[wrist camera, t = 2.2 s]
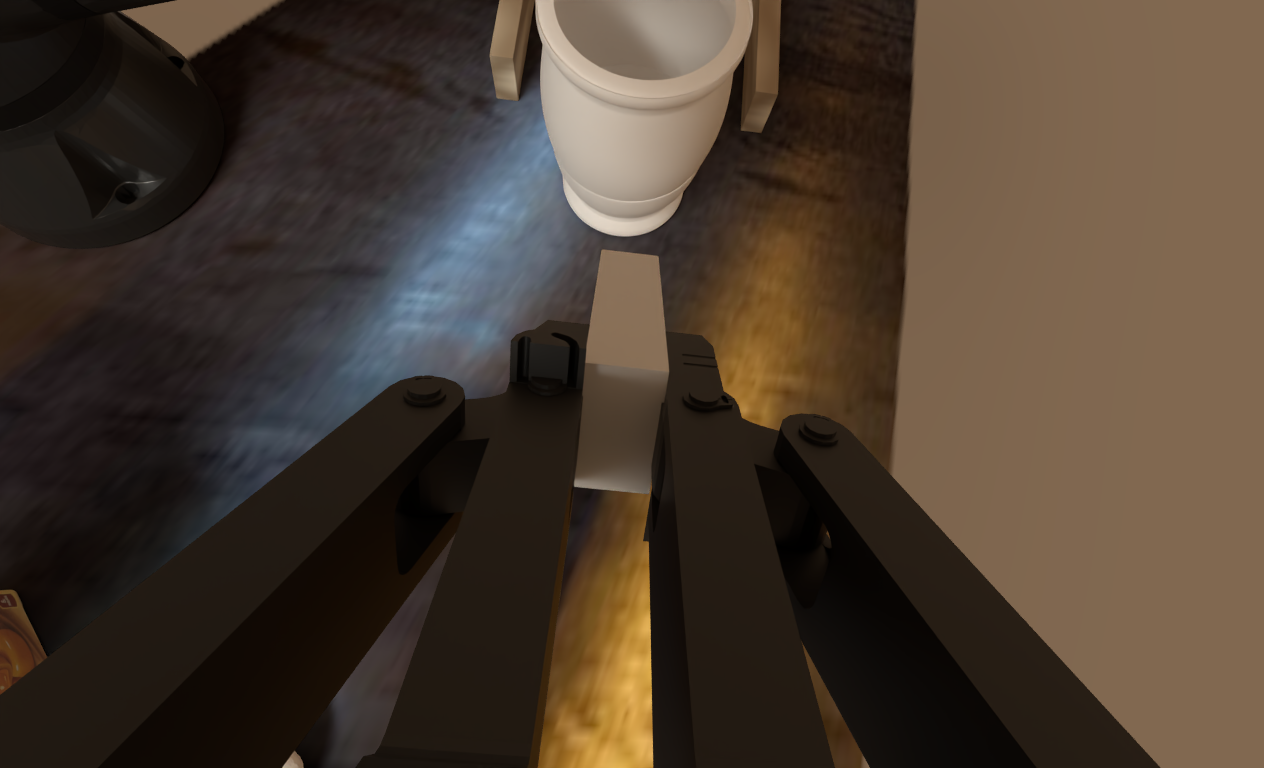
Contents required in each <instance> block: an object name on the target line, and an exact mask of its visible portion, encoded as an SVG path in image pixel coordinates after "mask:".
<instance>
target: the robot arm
mask: <svg viewBox="0 0 1264 768" xmlns="http://www.w3.org/2000/svg"><path fill="white" fill-rule="evenodd" d="M169 1H175V0H0V224H2V225H3V226H5V227H7V228H8V229H10V230H12V231H14V232H15V233H17V234H19V235H21V236H23V237H25V238H27V239H30V240H33V241H35V242H39V243H42V244H46V245H50V246H55V247H62V248H80V249H83V248H97V247H105V246H111V245H115V244H120V243H123V242H127V241H130V240H133V239H136V238H139V237H141V236H144V235H146V234H148V233H150V232H152V231H154V230H156V229H158V228H160V227H162V226H163V225H165V224H167V223H168V222H170V221H171V220H173V219H174V218H176V217H177V216H178V215H180V214H181V213H182V212H183V211H184V210H186V209H187V208H188V207H189V206H190V205H191V204H192V203H193V202H194V201H195V200H196V199H197V198H198V196H199V195H200V194H201V193H202V192H203V190H204V189H205V188H206V186H207V185H208V183H209V182H210V180H211V178H212V177H213V175H214V173H215V171H216V168H217V166H218V164H219V161H220V158H221V154H222V150H223V144H224V122H223V117H222V113H221V109H220V106H219V104H218V102H217V99H216V98H215V96H214V94H213V92H212V91H211V89H210V88H209V87H208V85H207V84H206V83H205V81H204V80H203V79H202V78H201V76H200V75H199V74H198V73H197V71H196V70H195V69H194V67H193V66H192V65H191V64H190V62H189V61H188V60H187V59H186V58H185V57H184V56H182V54H180V53H179V52H178V51H177V50H176V49H175V48H174V47H172V46H171V45H170V44H168V43H167V42H165V41H164V40H162V39H161V38H159V37H158V36H156V35H155V34H154V33H152V32H151V31H149V30H148V29H146V28H145V27H143V26H142V25H140V24H139V23H137V22H136V21H134V20H133V19H131V18H130V17H128V16H126V15H125V14H124V13H122V12H121V11H122V10H127V9H133V8H138V7H143V6H148V5H154V4H159V3H164V2H169ZM717 367H718V366H717V362H716V359H715V353H714V349H713V346H712V345H711V344H710V343H709V342H708V341H707V340H706V339H705V338H704V337H703V336H701V335H692V334H683V333H674V332H666V331H665V322H664V312H663V301H662V291H661V280H660V270H659V259H658V256H653V255H644V254H636V253H627V252H619V251H610V250H602V252H601V258H600V264H599V271H598V277H597V283H596V289H595V296H594V302H593V308H592V315H591V321H590V325H588V324H579V323H570V322H561V321H552V320H548V321H546V322H545V323H543V324H542V325H540V326H539V327H537V328H536V329H535V330H528V331H524V332H522V333H519V334H517V335H516V336H515V337H514V338H513V339H512V340H511V354H510V382H509V385H508V388H507V391H506V392H505V393H503V394H500V395H497V396H493V397H488V398H480V399H467V400H465V394H464V390H463V388H462V387H461V386H460V385H458V384H457V383H456V382H454V381H451V380H448V379H446V378H441V377H434V376H415V377H412V378H408V379H404V380H400V381H398V382H397V383H395V384H393V385H391V386H389V387H388V388H387V389H386V390H384V391H383V392H382V393H380V394H379V395H378V396H377V397H375V398H374V399H373V400H372V401H370V402H369V403H368V404H367V405H365V406H364V407H363V408H362V409H360V410H359V411H358V412H356V413H355V414H354V415H353V416H351V417H350V418H349V419H348V420H346V421H345V422H344V423H343V424H341V425H340V426H339V427H338V428H336V429H335V430H334V431H332V432H331V433H330V434H329V435H327V436H326V437H325V438H324V439H322V440H321V441H320V442H319V443H317V444H316V445H315V446H314V447H312V448H311V449H310V450H309V451H307V452H306V453H305V454H303V455H302V456H301V457H300V458H298V459H297V460H296V461H295V462H293V463H292V464H291V465H290V466H288V467H287V468H286V469H285V470H283V471H282V472H281V473H279V474H278V475H277V476H276V477H274V478H273V479H272V480H271V481H269V482H268V483H267V484H266V485H264V486H263V487H262V488H261V489H259V490H258V491H257V492H255V493H254V494H253V495H252V496H250V497H249V498H248V499H247V500H245V501H244V502H243V503H242V504H240V505H239V506H238V507H237V508H235V509H234V510H233V511H232V512H230V513H229V514H228V515H226V516H225V517H224V518H223V519H221V520H220V521H219V522H218V523H216V524H215V525H214V526H213V527H211V528H210V529H209V530H208V531H206V532H205V533H204V534H202V535H201V536H200V537H199V538H197V539H196V540H195V541H194V542H192V543H191V544H190V545H189V546H187V547H186V548H185V549H184V550H182V551H181V552H180V553H178V554H177V555H176V556H175V557H173V558H172V559H171V560H170V561H168V562H167V563H166V564H165V565H163V566H162V567H161V568H160V569H158V570H157V571H156V572H155V573H153V574H152V575H151V576H149V577H148V578H147V579H146V580H144V581H143V582H142V583H141V584H139V585H138V586H137V587H136V588H134V589H133V590H132V591H131V592H129V593H128V594H127V595H125V596H124V597H123V598H122V599H120V600H119V601H118V602H117V603H115V604H114V605H113V606H112V607H110V608H109V609H108V610H107V611H105V612H104V613H103V614H101V615H100V616H99V617H98V618H96V619H95V620H94V621H93V622H91V623H90V624H89V625H88V626H86V627H85V628H84V629H83V630H81V631H80V632H79V633H78V634H76V635H75V636H74V637H72V638H71V639H70V640H69V641H67V642H66V643H65V644H64V645H62V646H61V647H60V648H59V649H57V650H56V651H55V652H54V653H52V654H51V655H50V656H48V657H47V658H46V659H45V660H43V661H42V662H41V663H40V664H38V665H37V666H36V667H35V668H33V669H32V670H31V671H30V672H28V673H27V674H26V675H24V676H23V677H22V678H21V679H19V680H18V681H17V682H16V683H14V684H13V685H12V686H11V687H9V688H8V689H7V690H6V691H4V692H3V693H2V694H0V768H282V767H283V766H284V764H285V763H286V762H287V760H288V759H289V758H290V756H291V755H292V754H293V752H294V751H295V750H296V748H297V747H298V746H299V744H300V743H301V741H302V740H303V739H304V737H305V736H306V735H307V733H308V732H309V731H310V729H311V728H312V727H313V725H314V724H315V722H316V721H317V720H318V718H319V717H320V716H321V714H322V713H323V712H324V710H325V709H326V708H327V706H328V705H329V704H330V702H331V701H332V699H333V698H334V697H335V695H336V694H337V693H338V691H339V690H340V689H341V687H342V686H343V685H344V683H345V682H346V681H347V679H348V678H349V676H350V675H351V674H352V672H353V671H354V670H355V668H356V667H357V666H358V664H359V663H360V662H361V660H362V659H363V658H364V656H365V655H366V653H367V652H368V651H369V649H370V648H371V647H372V645H373V644H374V643H375V641H376V640H377V639H378V637H379V636H380V634H381V633H382V632H383V630H384V629H385V628H386V626H387V625H388V624H389V622H390V621H391V620H392V618H393V617H394V616H395V614H396V613H397V611H398V610H399V609H400V607H401V606H402V605H403V603H404V602H405V601H406V599H407V598H408V597H409V595H410V594H411V593H412V591H413V590H414V588H415V587H416V586H417V584H418V583H419V582H420V580H421V579H422V578H423V576H424V575H425V574H426V572H427V571H428V570H429V568H430V567H431V565H432V564H433V563H434V561H435V560H436V559H437V557H438V556H439V555H440V553H441V552H442V551H443V549H444V548H445V547H446V545H447V544H448V542H449V541H450V540H451V538H452V537H453V536H454V534H455V533H456V535H455V538H454V541H453V543H452V546H451V549H450V552H449V555H448V557H447V560H446V563H445V566H444V569H443V572H442V574H441V577H440V580H439V583H438V586H437V589H436V591H435V594H434V597H433V600H432V603H431V606H430V608H429V611H428V614H427V617H426V620H425V622H424V625H423V628H422V631H421V634H420V637H419V639H418V642H417V645H416V648H415V651H414V654H413V656H412V659H411V662H410V665H409V668H408V670H407V673H406V676H405V679H404V682H403V685H402V687H401V690H400V693H399V696H398V699H397V702H396V704H395V707H394V710H393V713H392V716H391V718H390V721H389V724H388V727H387V730H386V733H385V735H384V737H383V740H382V742H381V745H380V747H379V748H378V750H377V751H376V752H375V754H372V755H367V756H363V758H362V759H361V761H360V762H359V763H358V765H357V766H356V768H538V760H539V752H540V745H541V737H542V729H543V722H544V714H545V707H546V699H547V691H548V684H549V676H550V669H551V661H552V653H553V646H554V638H555V630H556V623H557V615H558V608H559V600H560V592H561V585H562V577H563V570H564V562H565V554H566V547H567V539H568V531H569V524H570V516H571V509H572V500H573V489H574V487H583V488H593V489H604V490H614V491H624V492H634V493H644V494H649V491H650V485H651V479H652V492H651V497H650V503H649V509H648V515H647V521H646V527H645V533H644V539H643V541H649V568H650V618H651V668H652V718H653V768H835V766H834V763H833V759H832V755H831V751H830V748H829V744H828V740H827V736H826V733H825V729H824V725H823V721H822V718H821V714H820V710H819V706H818V703H817V699H816V695H815V691H814V687H813V684H812V680H811V676H810V672H809V669H808V665H807V661H806V657H805V654H804V650H803V646H802V643H803V645H804V646H805V648H806V650H807V652H808V654H809V656H810V658H811V659H812V661H813V663H814V665H815V667H816V669H817V670H818V672H819V674H820V676H821V678H822V680H823V682H824V683H825V685H826V687H827V689H828V691H829V693H830V695H831V696H832V698H833V700H834V702H835V704H836V706H837V708H838V709H839V711H840V713H841V715H842V717H843V719H844V720H845V722H846V724H847V726H848V728H849V730H850V732H851V733H852V735H853V737H854V739H855V741H856V743H857V745H858V746H859V748H860V750H861V752H862V754H863V756H864V757H865V759H866V761H867V763H868V765H869V767H870V768H1160V767H1159V766H1158V765H1157V763H1156V762H1155V761H1154V760H1153V759H1152V758H1151V757H1150V756H1149V755H1148V754H1147V753H1146V752H1145V750H1144V749H1143V748H1142V747H1141V746H1140V745H1139V744H1138V743H1137V742H1136V741H1135V740H1134V739H1133V737H1132V736H1131V735H1130V734H1129V733H1128V732H1127V731H1126V730H1125V729H1124V728H1123V727H1122V726H1121V725H1120V724H1119V722H1118V721H1117V720H1116V719H1115V718H1114V717H1113V716H1112V715H1111V714H1110V712H1109V711H1108V710H1107V709H1106V708H1105V707H1104V706H1103V705H1102V704H1101V703H1100V702H1099V701H1098V699H1097V698H1096V697H1095V696H1094V695H1093V694H1092V693H1091V692H1090V691H1089V690H1088V689H1087V687H1086V686H1085V685H1084V684H1083V683H1082V682H1081V681H1080V680H1079V679H1078V678H1077V677H1076V676H1075V675H1074V674H1073V672H1072V671H1071V670H1070V669H1069V668H1068V667H1067V666H1066V665H1065V664H1064V663H1063V661H1062V660H1061V659H1060V658H1059V657H1058V656H1057V655H1056V654H1055V653H1054V652H1053V651H1052V649H1051V648H1050V647H1049V646H1048V645H1047V644H1046V643H1045V642H1044V641H1043V640H1042V639H1041V638H1040V636H1038V634H1037V633H1036V632H1035V631H1034V630H1033V629H1032V628H1031V627H1030V626H1029V625H1028V623H1027V622H1026V621H1025V620H1024V619H1023V618H1022V617H1021V616H1020V615H1019V614H1018V613H1017V612H1016V610H1015V609H1014V608H1013V607H1012V606H1011V605H1010V604H1009V603H1008V602H1007V601H1006V600H1005V598H1004V597H1003V596H1002V595H1001V594H1000V593H999V592H998V591H997V590H996V589H995V588H994V587H993V585H991V583H990V582H989V581H988V580H987V579H986V578H985V577H984V576H983V575H982V574H981V572H980V571H979V570H978V569H977V568H976V567H975V566H974V565H973V564H972V563H971V562H970V560H968V558H967V557H966V556H965V555H964V554H963V553H962V552H961V551H960V550H959V549H958V548H957V546H956V545H954V543H953V542H952V541H951V540H950V539H949V538H948V537H947V536H946V535H945V533H944V532H943V531H942V530H941V529H940V528H939V527H938V526H937V525H936V524H935V523H934V522H933V520H932V519H930V517H929V516H928V515H927V514H926V513H925V512H924V511H923V509H922V508H921V507H920V506H919V505H918V504H917V503H916V502H915V501H914V500H913V499H912V498H911V497H910V495H909V494H908V493H907V492H906V491H905V490H904V489H903V488H902V487H901V486H900V485H899V483H898V482H897V481H896V480H895V479H894V478H893V477H892V476H891V475H890V474H889V473H888V471H887V470H886V469H885V468H884V467H883V466H882V465H881V464H880V463H879V462H878V461H877V460H876V458H875V457H874V456H873V455H872V454H871V453H870V452H869V451H868V450H867V449H866V448H865V447H864V445H863V444H862V443H861V442H860V441H859V440H858V439H857V438H856V437H855V436H854V435H853V434H852V432H850V431H849V430H848V429H847V428H845V427H844V426H843V425H841V424H839V423H837V422H835V421H833V420H831V419H830V418H828V417H825V416H822V417H821V415H816V414H796V415H790V416H788V417H787V418H785V419H783V421H782V424H781V427H780V431H777V430H774V429H770V428H767V427H763V426H760V425H757V424H754V423H751V422H749V421H747V420H745V419H743V418H742V417H741V413H740V409H739V406H738V404H737V402H736V401H735V399H734V398H733V397H731V396H730V395H729V394H727V393H726V392H724V391H723V387H722V383H721V378H720V374H719V370H718V368H717ZM827 530H828V532H829V535H830V538H829V537H828V535H827V534H826V533H827ZM830 539H831V540H830ZM801 641H802V642H801Z"/></svg>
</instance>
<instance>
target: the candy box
mask: <svg viewBox="0 0 1264 768" xmlns="http://www.w3.org/2000/svg"><path fill="white" fill-rule="evenodd" d="M46 658H47V656H46V654H45V652H44V650H43V648H42V645H41V643H40V641H39V639H38V637H37V635H36V633H35V631H34V629H33V627H32V625H31V623H30V621H29V619H28V617H27V615H26V613H25V611H24V609H23V604H22V602H21V600H20V598H19V596H18V594H17V592H16V591H14V590H0V694H2V693H3V692H4V691H6V690H7V689H8V688H9V687H11V686H12V685H13V684H14V683H16V682H17V681H18V680H19V679H21V678H22V677H23V676H24V675H26V674H27V673H28V672H30V671H31V670H32V669H33V668H35V667H36V666H37V665H38V664H40V663H41V662H42V661H43V660H45V659H46Z"/></svg>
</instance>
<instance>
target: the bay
mask: <svg viewBox="0 0 1264 768" xmlns="http://www.w3.org/2000/svg"><path fill="white" fill-rule="evenodd" d="M534 2H535V0H500V1H499V6H498V12H497V17H496V23H495V28H494V34H493V39H492V45H491V50H490V61H491V66H492V72H493V78H494V84H495V90H496V95H497V98H499V99H507V100H514V101H518V100H519V94H520V88H521V82H522V75H523V69H524V63H525V57H526V51H527V45H528V39H529V32H530V26H531V20H532V14H533V8H534ZM752 6H753V23H752V30H751V34H750V37H749V41H748V44H747V47H746V50H745V57H744V77H743V97H742V117H741V130H742V131H750V132H757V133H761V132H762V130H763V128H764V126H765V123H766V121H767V119H768V116H769V114H770V112H771V109H772V107H773V105H774V102H775V100H776V98H777V95H778V77H779V46H780V15H781V0H752Z"/></svg>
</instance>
